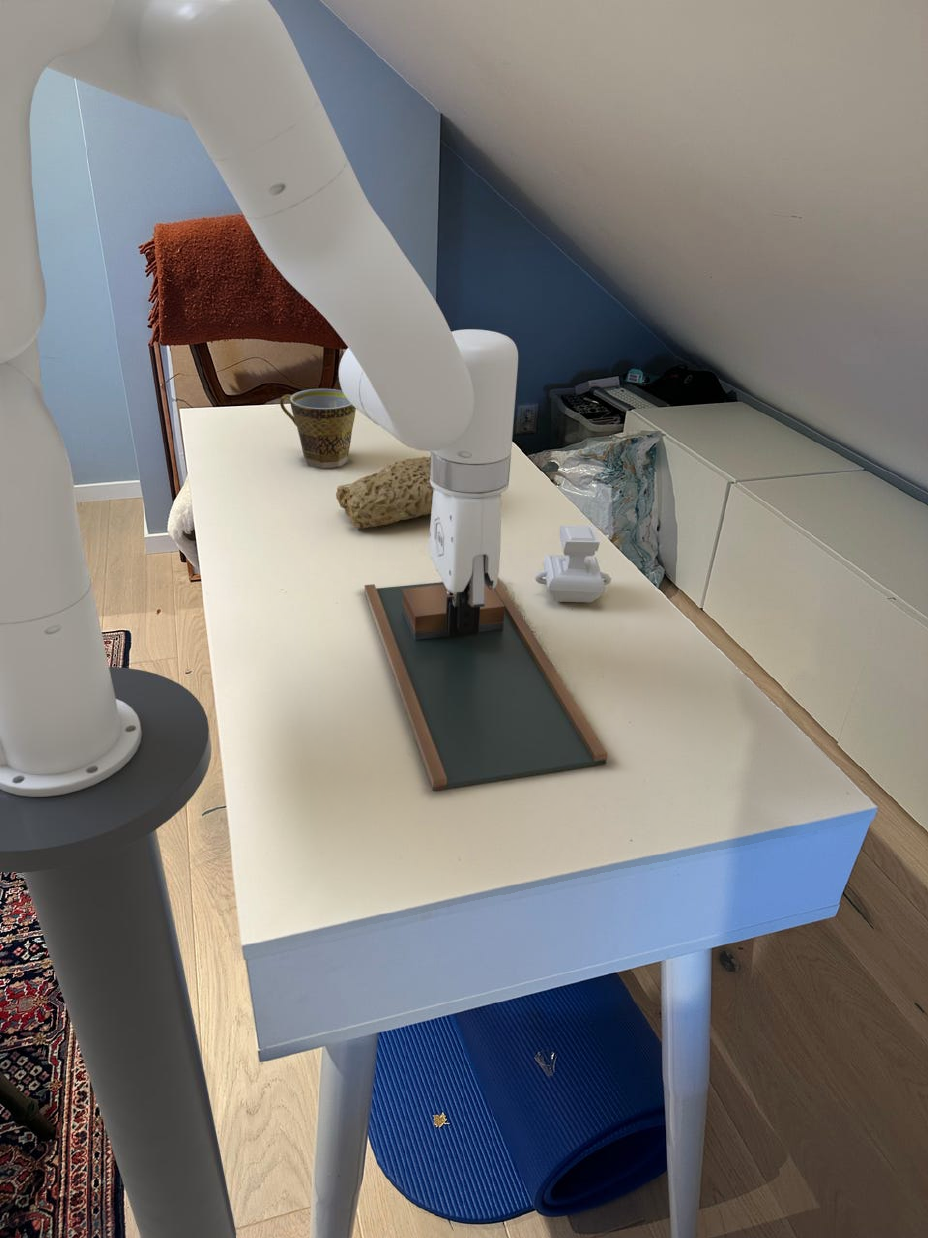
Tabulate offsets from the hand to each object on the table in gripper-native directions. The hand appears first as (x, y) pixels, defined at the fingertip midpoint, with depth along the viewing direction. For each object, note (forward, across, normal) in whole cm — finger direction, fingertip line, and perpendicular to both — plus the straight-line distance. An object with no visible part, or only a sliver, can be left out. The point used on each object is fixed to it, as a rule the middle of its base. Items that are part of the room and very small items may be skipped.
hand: (461, 631), depth 91 cm
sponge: (+2, -35, +2) cm, 36 cm away
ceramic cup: (+2, -56, -8) cm, 57 cm away
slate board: (+2, +4, 0) cm, 4 cm away
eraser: (+2, -5, 0) cm, 5 cm away
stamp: (+2, -8, +16) cm, 18 cm away
